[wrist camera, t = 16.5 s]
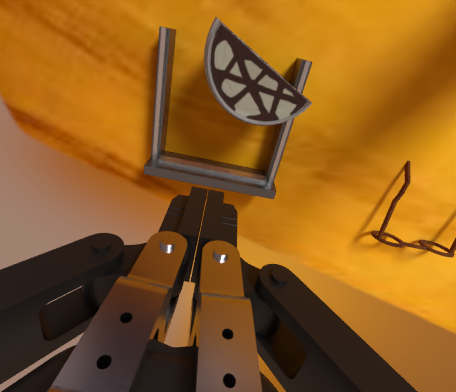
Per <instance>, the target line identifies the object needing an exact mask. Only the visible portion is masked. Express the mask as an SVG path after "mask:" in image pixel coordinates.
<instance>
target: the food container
mask: <svg viewBox="0 0 456 392" xmlns="http://www.w3.org/2000/svg"><path fill="white" fill-rule="evenodd" d="M204 66H205V74H206V78H207V82H208V84H209V87H210V89H211V92H212V93H213V95H214V97H215V99H216V100H217V101H218V103H219V104H220V105H221V106H222V107H223V108H224V109H225V110H226V111H227V112H228V113H229V114H231V115H232V116H234V117H235V118H237V119H239V120H241V121H243V122H246V123H249V124H253V125H261V126H267V125H276V124H280V123H283V122H286V121H289V120H291V119H293V118H295V117H296V116H298V115H299V114H301V113H302V112H304V111H305V110H306V109H307V108H308V107H309V106H310V105H311V104H312V103H311V102H310V101H309V100H308V99H307V98H306V97H305V96H304V95H302V94H301V93H300V92H299V91H298V90H297V89H296V88H294V87H293V86H292V85H291V84H290V83H289V82H288V81H287V80H285V79H284V78H283V77H282V76H281V75H280V74H279V73H278V72H276V71H275V70H274V69H273V68H272V67H271V66H270V65H269V64H268V63H266V62H265V61H264V60H263V59H262V58H261V57H260V56H259V55H258V54H256V53H255V52H254V51H253V50H252V49H251V48H250V47H249V46H247V45H246V44H245V43H244V42H243V41H242V40H241V39H240V38H239V37H237V36H236V35H235V34H234V33H233V32H232V31H231V30H230V29H229V28H228V27H226V26H225V25H224V24H223V23H222V22H221V21H220V20H219V19H218V18H217V17H215V19H214V21H213V23H212V25H211V27H210V30H209V33H208V36H207V40H206V45H205V51H204Z"/></svg>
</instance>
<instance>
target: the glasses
mask: <svg viewBox="0 0 456 392" xmlns="http://www.w3.org/2000/svg"><path fill="white" fill-rule="evenodd" d="M409 184H410V161H407V163H406V165H405V183H404V185H403V186H402V188H401V190H400V192H399V193H398V194H397V196H396V197H395V198H394V199H393V201H392V203H391V205H390V208H389V210H388V212H387V215H386V217H385V219H384V222H383V224H382V226H381V229H380V231H372V233H371V235H372V236H373V237H374V238H375V239H377V240H378V241H380V242H382V243H384V244H387V245H390V246H394V247H400V248H401V247H404V246H408V247H412V248H417V249H423V250H425V249H427V250H428V251H431V252H433V253H436V254H438V255H442V256H445V257H454V255H455V254H454V252H455V250H456V238H455V240H454V242H453V244H452V246H451V248H450V249H448V248H446V247H444V246H442V245H440V244H437V243H435V242H431V241H426V240H420V241H419V244H420V245H421V246H420V245H415V244H410V243H406V242H403V241H402V240H400V239H399V238H397V237H395V236H393V235H391V234H389V233H385V232H384V231H385V229H386V227H387V224H388V222H389V220H390V217H391V215H392V213H393V210H394V208H395V206H396V203H397V202H398V200H399V199H400V198H401V197H402V195H403V194H404V193H405V191H406V189H407V187H408V185H409ZM376 234H378V236H377V235H376ZM383 235H385V236H388V237H391V238H393V239H394V240H396V241H397V242H399V243H400V244H396V243H392V242H388V241H386V240H383V239H382V236H383ZM424 243H427V244H431V245H435V246H437V247H439V248H441V249H443V250H445V251H446V252H448V253H443V252H439V251H437V250H434V249H432V248H430V247H428V246H427V245H425V244H424Z"/></svg>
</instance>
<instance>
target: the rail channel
mask: <svg viewBox="0 0 456 392" xmlns="http://www.w3.org/2000/svg"><path fill="white" fill-rule="evenodd" d="M175 36H176V30H175V29H171V28H166V27H160V28H159V43H158V58H157V74H156V89H155V104H154V120H153V135H152V150H151V157H150V159H149V160H148V161H147V163H146V164H145V165H144V174H148V175H153V176H158V177H163V178H168V179H173V180H178V181H183V182H188V183H194V184H199V185H204V186H209V187H214V188H219V189H224V190H229V191H234V192H239V193H244V194H250V195H255V196H260V197H265V198H270V199H274V197H275V194H276V188H275V184H274V179H275V176H276V173H277V170H278V167H279V164H280V161H281V158H282V155H283V151H284V148H285V145H286V142H287V139H288V136H289V133H290V130H291V127H292V124H293V120H294V118H293V119H291V120H289V121H286V122H283V123H280V124H278V125H277V129H276V132H275V135H274V139H273V142H272V145H271V149H270V152H269V156H268V159H267V162H266V166H265V169H264V171H262V170H257V169H252V168H247V167H243V166H238V165H233V164H228V163H223V162H218V161H213V160H208V159H203V158H198V157H193V156H188V155H183V154H179V153H174V152H169V151H165V145H166V134H167V123H168V112H169V101H170V90H171V79H172V68H173V58H174V47H175ZM311 65H312V62H310V61H307V60H303V59H299V58H297V61H296V64H295V68H294V71H293V74H292V78H291V81H290V84H291V85H292V86H293V87H294V88H296V89H297V90H298V91H299V92H300V93H301V94H302V93H303V90H304V86H305V83H306V80H307V77H308V74H309V71H310V68H311Z"/></svg>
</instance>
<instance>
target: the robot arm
mask: <svg viewBox="0 0 456 392" xmlns="http://www.w3.org/2000/svg"><path fill="white" fill-rule="evenodd" d="M207 190H208V189H203V188H198V187H193V186H192V189H191V192H190V195H189V196H184V195H178V196H176V197H175V198H173V199H172V201H171V203H170V206H169V208H168V210H167V213H166V215H165V217H164V220H163V222H162V225H161V227H160V229H159V232H158V233H156V234H154V235H153V236H151V237H150V239H149V240H148V242H147V243H143V244H138V245H124V242H123V241H122V239H121V238H120V237H118V236H116V235H114V234H110V233H98V234H94V235H91V236H88V237H85V238H83V239H80V240H78V241H75V242H72V243H70V244H67V245H65V246H62V247H59V248H56V249H54V250H51V251H49V252H46V253H43V254H41V255H38V256H36V257H33V258H30V259H28V260H25V261H22V262H20V263H17V264H14V265H12V266H9V267H6V268H4V269H1V270H0V384H2V383H3V382H5V381H6V380H8V379H10V378H11V377H13V376H14V375H16V374H18V373H19V372H21V371H23V370H24V369H26V368H27V367H29V366H30V365H32V364H34V363H35V362H37V361H38V360H40V359H42V358H43V357H45V356H46V355H48V354H50V353H51V352H53V351H54V350H56V349H58V348H59V347H61V346H62V345H64V344H65V343H67V342H69V341H70V340H72V339H74V338H75V337H77V336H78V335H80V334H82V333H83V332H84V334H83V336H82V337H81V339H80V340H79V342H78V344H77V345H75V346H72V347H70V348H68V349H66V350H64V351H62V352H60V353H58V354H57V355H55V356H54V357H52V358H51V359H49V360H48V361H46V362H45V363H43V364H42V365H40V366H39V367H37V368H36V369H34V370H33V371H31V372H30V373H28V374H27V375H25V376H24V377H22V378H21V379H19V380H18V381H16V382H15V383H13V384H12V385H10V386H9V387H7V388H6V389H5V390H3V391H2V392H278V391H277V389H276V388H275V387H274V386H273V384H272V383H271V382H270V381H269V379H267V377H265V376H264V375H263V374H262V373H261V372H260V370H259V361H258V354H259V355H260V357H261V358H262V359H263V361H264V362H265V363H266V365H267V366H268V368H269V369H270V370H271V372H272V373H273V374H274V376H275V377H276V378H277V380H278V381H279V383H280V384H281V385H282V387H283V388H284V389H285V391H286V392H417V391H416V390H415V389H414V388H413V387H412V386H411V385H410V384H409V383H408V382H407V381H406V380H404V378H403V377H401V376H400V375H399V374H398V373H397V372H396V371H395V370H394V369H393V368H392V367H391V366H390V365H389V364H388V363H387V362H386V361H385V360H383V358H382V357H380V356H379V355H378V354H377V353H376V352H375V351H374V350H373V349H372V348H371V347H370V346H369V345H368V344H367V343H366V342H365V341H364V340H363V339H362V338H361V337H359V336H358V335H357V334H356V333H355V332H354V331H353V330H352V329H351V328H350V327H349V326H348V325H347V324H346V323H345V322H344V321H343V320H342V319H341V318H340V317H339V316H338V315H336V314H335V313H334V312H333V311H332V310H331V309H330V308H329V307H328V306H327V305H326V304H325V303H324V302H323V301H322V300H321V299H320V298H319V297H318V296H317V295H315V294H314V293H313V292H312V291H311V290H310V289H309V288H308V287H307V286H306V285H305V284H304V283H303V282H302V281H301V280H300V279H299V278H298V277H296V275H295V274H293V273H292V272H291V271H290V270H289V269H287V268H286V267H283V266H281V265H278V264H268V265H265V266H263V267H262V268H261V269H259V268H256V267H254V266H252V265H250V264H248V263H247V262H245V261H244V260H243V259H242V258H241V257H240V254H239V251H238V250H237V211H236V209H235V207H234V206H233V205H231V204H226V203H223V198H224V192H219V191H213V190H209V192H208V197H207V202H206V207H205V211H204V206H205V201H206V195H207ZM203 211H204V216H203ZM202 216H203V221H202ZM201 222H202V226H201ZM200 227H201V231H200ZM199 231H200V236H199ZM198 236H199V241H198ZM197 241H198V246H197ZM196 246H197V251H196V257H195V262H194V267H193V273H192V277H191V282H193V283H195V288H194V294H193V298H192V306H191V307H192V308H191V318H190V328H189V340H188V346H187V347H170V346H168V345H166V344H164V341H165V338H166V335H167V331H168V328H169V326H170V323H171V319H172V317H173V313H174V311H175V307H176V304H177V301H178V298H179V294H180V292H181V290H182V286H183V282H184V281H187V282H189V279H190V274H191V269H192V265H193V260H194V255H195V250H196ZM80 286H82V287H81V288H79V289H77V290H75V291H73V292H71V293H69V294H67V295H65V296H63V297H61V298H59V299H57V300H55V301H53V302H51V303H49V302H50V301H52V300H54V299H56V298H58V297H60V296H62V295H64V294H66V293H68V292H70V291H72V290H74V289H76V288H78V287H80ZM47 303H49V304H47ZM46 304H47V305H46ZM257 353H258V354H257Z"/></svg>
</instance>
